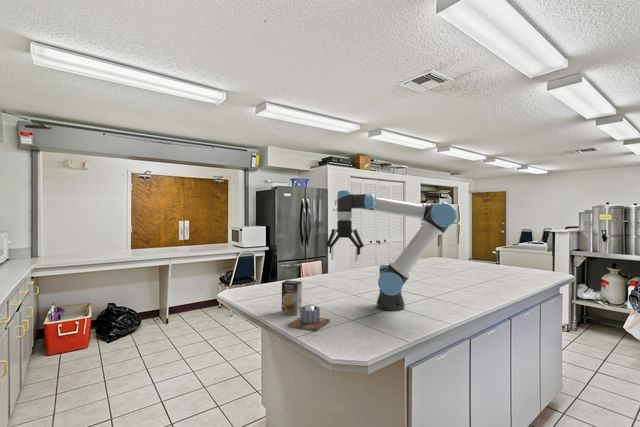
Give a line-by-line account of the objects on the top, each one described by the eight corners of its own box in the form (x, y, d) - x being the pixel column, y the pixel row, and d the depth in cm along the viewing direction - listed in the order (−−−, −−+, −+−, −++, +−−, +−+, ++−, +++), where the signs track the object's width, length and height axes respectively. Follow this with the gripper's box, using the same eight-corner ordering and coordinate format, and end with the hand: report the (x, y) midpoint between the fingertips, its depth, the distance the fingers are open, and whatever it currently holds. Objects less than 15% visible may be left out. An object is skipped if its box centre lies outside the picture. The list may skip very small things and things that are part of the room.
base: (329, 321, 148) (329, 318, 148) (316, 331, 135) (316, 328, 135) (303, 317, 154) (303, 315, 154) (288, 326, 141) (288, 323, 141)
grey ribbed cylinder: (322, 319, 146) (322, 307, 146) (314, 325, 138) (314, 312, 138) (305, 317, 150) (305, 304, 150) (296, 323, 142) (296, 309, 142)
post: (316, 320, 145) (316, 305, 145) (311, 323, 141) (311, 308, 141) (307, 319, 147) (307, 304, 147) (303, 322, 143) (303, 306, 143)
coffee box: (280, 313, 159) (280, 282, 160) (286, 310, 166) (286, 280, 166) (297, 315, 156) (297, 283, 157) (302, 312, 163) (302, 281, 163)
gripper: (369, 219, 162) (369, 260, 162) (325, 219, 173) (325, 258, 173) (365, 220, 155) (365, 262, 155) (320, 220, 166) (320, 259, 166)
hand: (344, 260), depth 164 cm, fingers open, 13 cm apart
